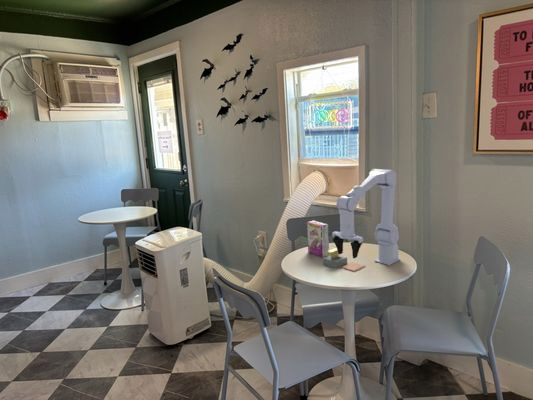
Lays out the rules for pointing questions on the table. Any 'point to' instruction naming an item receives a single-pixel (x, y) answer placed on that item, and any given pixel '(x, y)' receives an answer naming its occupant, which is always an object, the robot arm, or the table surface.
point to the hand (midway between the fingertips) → (347, 255)
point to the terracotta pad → (353, 266)
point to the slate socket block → (335, 261)
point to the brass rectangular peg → (333, 253)
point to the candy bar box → (318, 238)
